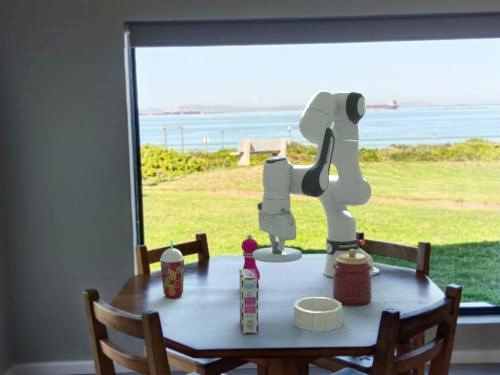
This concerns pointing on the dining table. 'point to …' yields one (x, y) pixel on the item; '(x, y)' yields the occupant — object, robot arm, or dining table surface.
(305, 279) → the dining table surface
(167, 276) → the smoothie
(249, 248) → the pepper mill
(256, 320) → the candy bar box
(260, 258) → the lid
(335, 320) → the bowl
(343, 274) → the canister
